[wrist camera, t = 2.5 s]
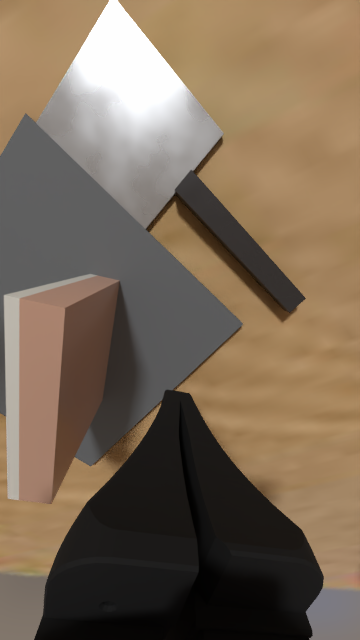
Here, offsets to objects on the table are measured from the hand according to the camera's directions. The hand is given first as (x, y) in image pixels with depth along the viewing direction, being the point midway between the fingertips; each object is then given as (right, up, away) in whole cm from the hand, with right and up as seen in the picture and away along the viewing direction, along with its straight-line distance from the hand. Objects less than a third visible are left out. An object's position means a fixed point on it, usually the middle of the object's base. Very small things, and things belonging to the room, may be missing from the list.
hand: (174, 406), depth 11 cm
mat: (-8, +4, +5) cm, 10 cm away
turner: (+1, +12, +2) cm, 12 cm away
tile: (-6, +3, +5) cm, 8 cm away
